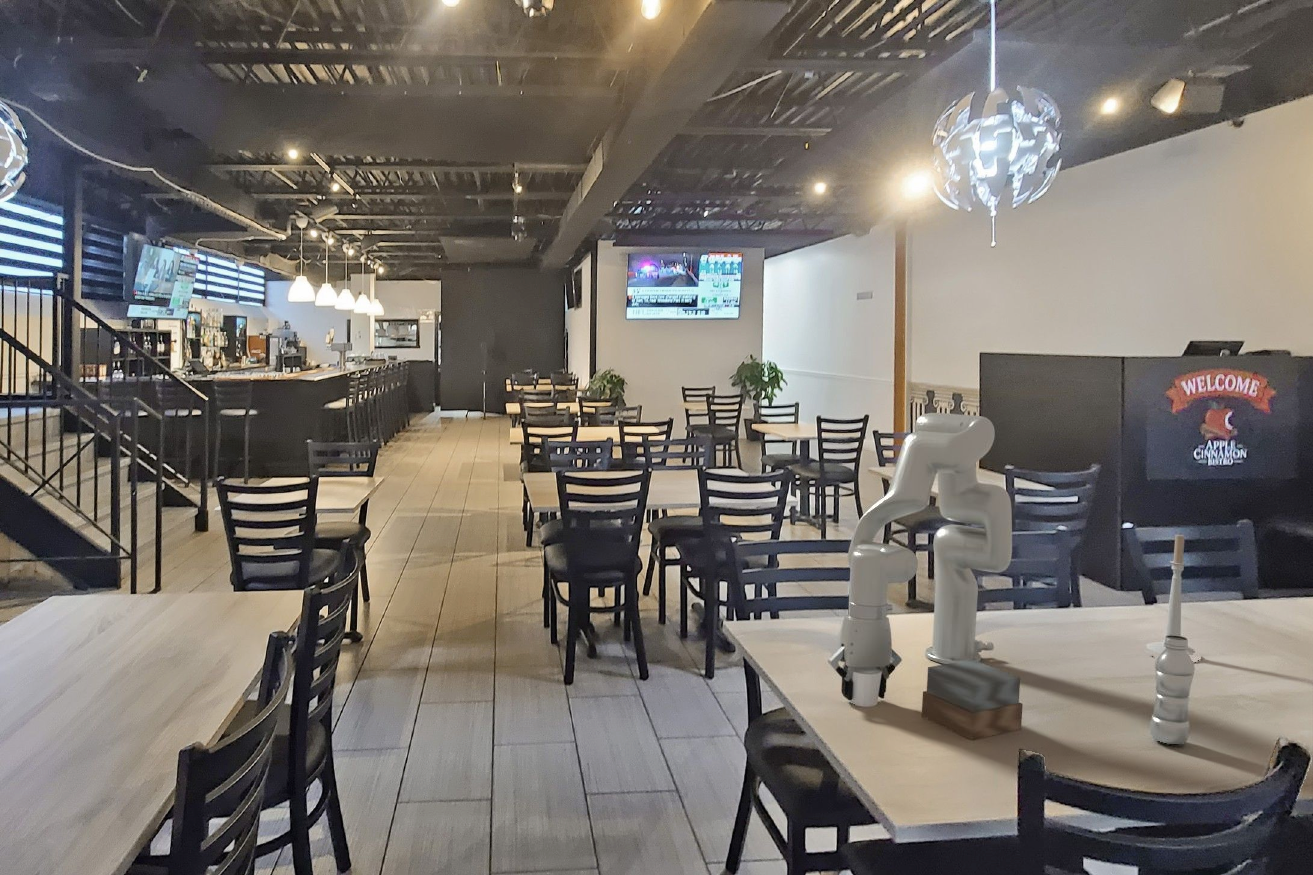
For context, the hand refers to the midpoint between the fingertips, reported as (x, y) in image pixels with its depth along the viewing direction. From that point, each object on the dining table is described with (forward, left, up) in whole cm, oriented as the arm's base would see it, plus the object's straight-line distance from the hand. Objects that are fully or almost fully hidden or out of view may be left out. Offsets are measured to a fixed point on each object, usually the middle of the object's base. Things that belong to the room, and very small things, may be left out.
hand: (863, 696), depth 199 cm
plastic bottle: (-48, +29, -1) cm, 56 cm away
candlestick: (-90, -19, -1) cm, 92 cm away
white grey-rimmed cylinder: (0, 0, -1) cm, 1 cm away
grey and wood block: (-16, +14, -1) cm, 21 cm away
